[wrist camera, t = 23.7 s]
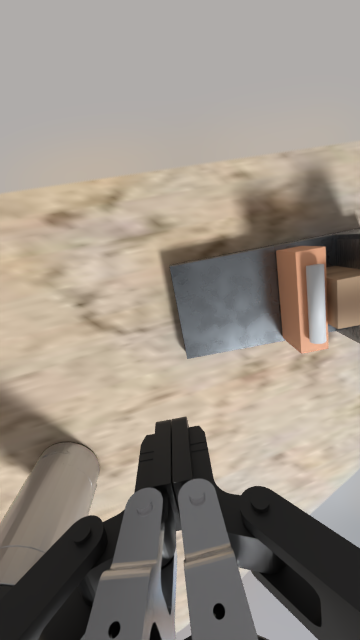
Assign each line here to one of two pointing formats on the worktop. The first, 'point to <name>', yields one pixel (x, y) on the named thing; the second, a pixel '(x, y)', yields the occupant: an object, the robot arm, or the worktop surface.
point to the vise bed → (245, 295)
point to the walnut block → (343, 296)
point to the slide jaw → (303, 297)
